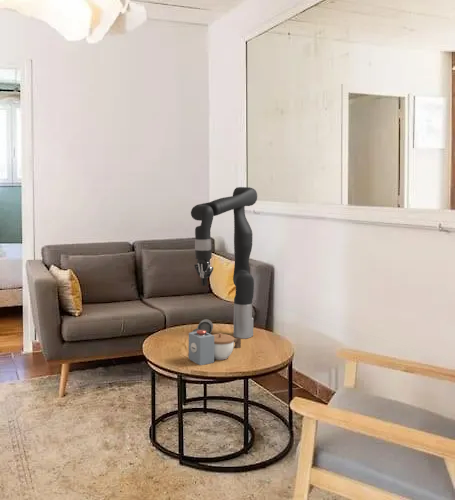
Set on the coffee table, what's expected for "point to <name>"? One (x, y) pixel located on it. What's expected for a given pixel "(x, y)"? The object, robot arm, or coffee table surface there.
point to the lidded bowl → (223, 346)
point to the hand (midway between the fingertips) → (204, 285)
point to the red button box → (201, 348)
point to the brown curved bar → (237, 342)
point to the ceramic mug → (205, 326)
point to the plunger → (201, 332)
